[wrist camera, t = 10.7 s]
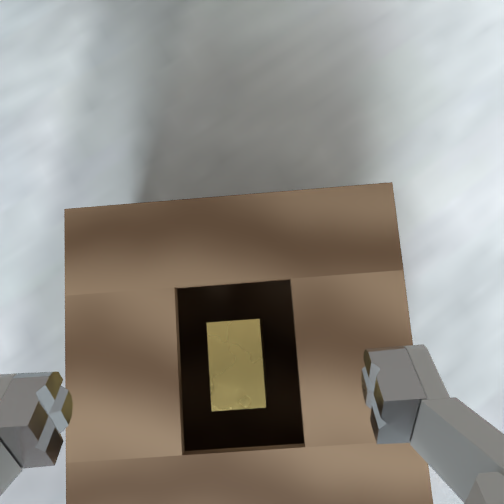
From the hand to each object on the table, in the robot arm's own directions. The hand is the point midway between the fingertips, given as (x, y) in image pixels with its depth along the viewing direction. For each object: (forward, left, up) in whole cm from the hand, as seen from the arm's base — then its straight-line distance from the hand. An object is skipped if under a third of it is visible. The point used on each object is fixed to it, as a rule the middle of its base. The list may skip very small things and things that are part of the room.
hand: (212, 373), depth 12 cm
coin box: (0, 0, -18) cm, 18 cm away
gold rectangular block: (0, 0, -18) cm, 18 cm away
